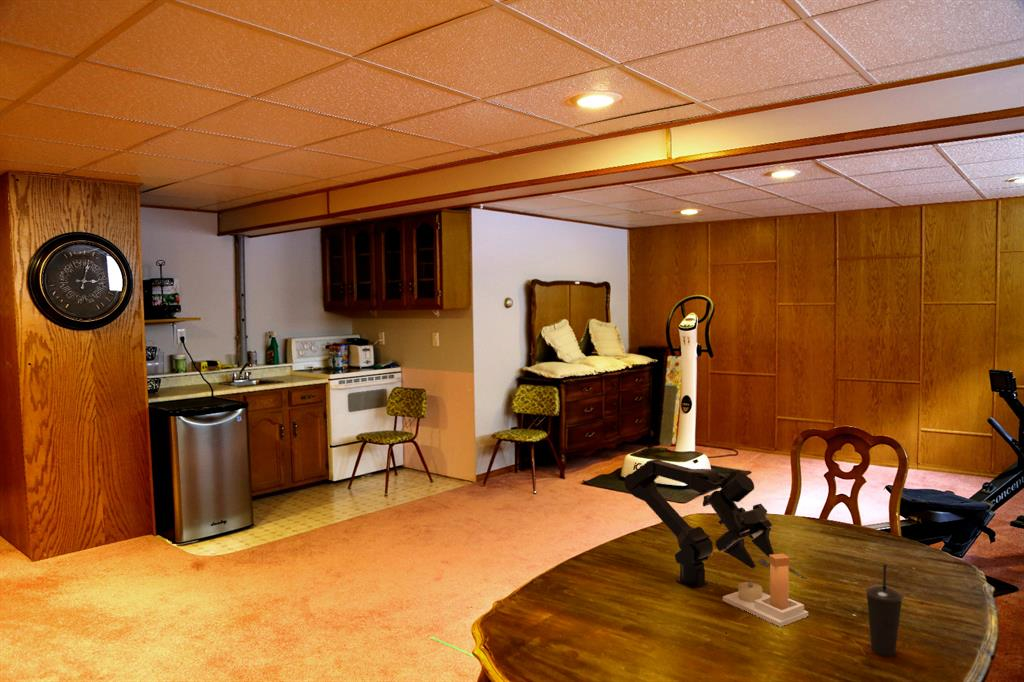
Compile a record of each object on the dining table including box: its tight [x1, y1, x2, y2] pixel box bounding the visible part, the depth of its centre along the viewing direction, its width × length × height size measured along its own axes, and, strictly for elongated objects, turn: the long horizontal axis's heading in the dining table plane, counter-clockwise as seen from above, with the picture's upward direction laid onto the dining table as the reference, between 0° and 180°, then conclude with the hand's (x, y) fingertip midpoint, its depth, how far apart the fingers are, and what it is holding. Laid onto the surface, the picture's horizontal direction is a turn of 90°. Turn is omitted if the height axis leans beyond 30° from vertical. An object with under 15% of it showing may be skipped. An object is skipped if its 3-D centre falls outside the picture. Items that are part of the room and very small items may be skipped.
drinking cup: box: [865, 564, 904, 657], centre depth 159 cm, size 8×8×20 cm
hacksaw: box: [758, 558, 835, 587], centre depth 204 cm, size 24×10×2 cm, turn 14°
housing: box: [722, 581, 809, 628], centre depth 181 cm, size 18×11×5 cm, turn 32°
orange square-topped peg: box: [768, 553, 791, 610], centre depth 177 cm, size 4×4×14 cm
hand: (764, 563), depth 180 cm, fingers open, 9 cm apart
